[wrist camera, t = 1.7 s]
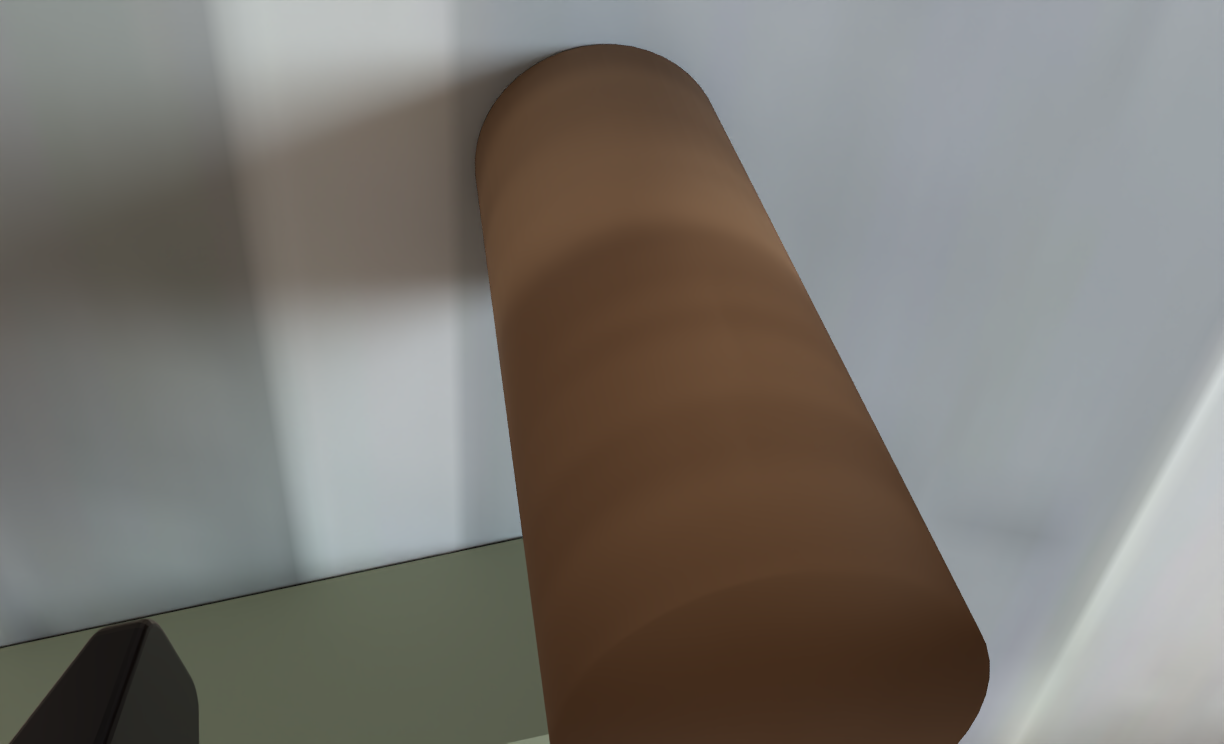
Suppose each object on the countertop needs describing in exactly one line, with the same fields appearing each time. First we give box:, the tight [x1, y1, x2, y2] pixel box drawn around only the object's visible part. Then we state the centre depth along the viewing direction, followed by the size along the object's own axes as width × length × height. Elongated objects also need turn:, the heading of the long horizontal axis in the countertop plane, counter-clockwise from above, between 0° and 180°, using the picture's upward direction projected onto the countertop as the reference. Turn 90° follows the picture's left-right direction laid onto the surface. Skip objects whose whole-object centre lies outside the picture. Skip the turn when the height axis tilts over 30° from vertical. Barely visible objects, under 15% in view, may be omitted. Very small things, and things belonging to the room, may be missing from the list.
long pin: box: [475, 44, 990, 744], centre depth 11 cm, size 3×3×8 cm
